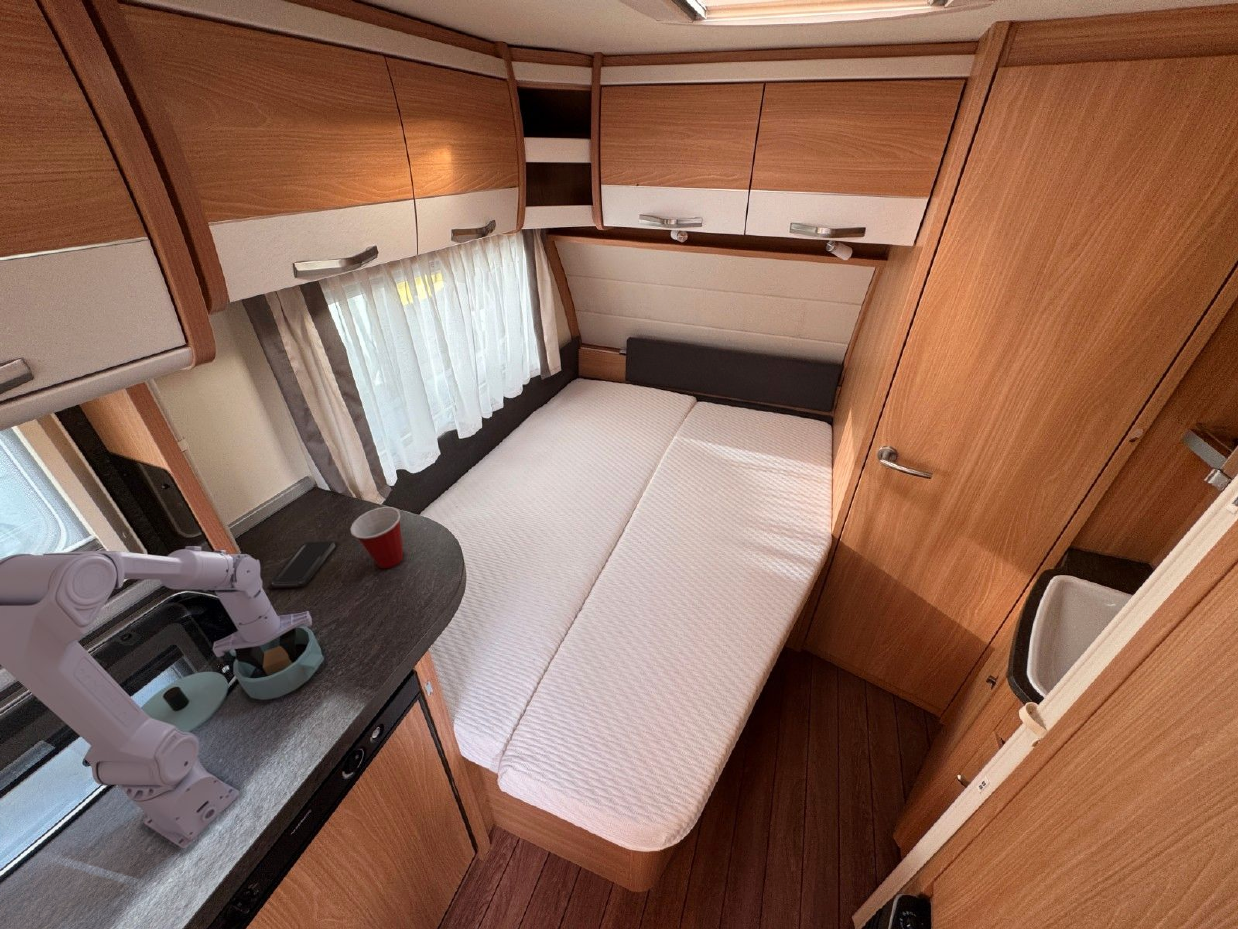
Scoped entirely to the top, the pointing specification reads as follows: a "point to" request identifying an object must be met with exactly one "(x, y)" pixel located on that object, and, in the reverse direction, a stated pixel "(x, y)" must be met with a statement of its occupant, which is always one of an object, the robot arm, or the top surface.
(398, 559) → the plastic cup
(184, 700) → the lid
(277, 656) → the block
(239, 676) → the pot
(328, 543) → the phone
